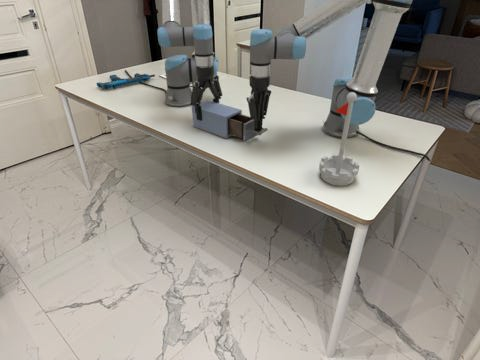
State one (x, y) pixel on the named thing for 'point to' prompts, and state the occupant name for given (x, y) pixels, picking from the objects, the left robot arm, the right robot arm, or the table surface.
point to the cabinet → (214, 117)
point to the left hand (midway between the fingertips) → (208, 116)
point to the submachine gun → (124, 81)
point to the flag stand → (341, 154)
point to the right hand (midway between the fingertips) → (258, 133)
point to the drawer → (243, 127)
